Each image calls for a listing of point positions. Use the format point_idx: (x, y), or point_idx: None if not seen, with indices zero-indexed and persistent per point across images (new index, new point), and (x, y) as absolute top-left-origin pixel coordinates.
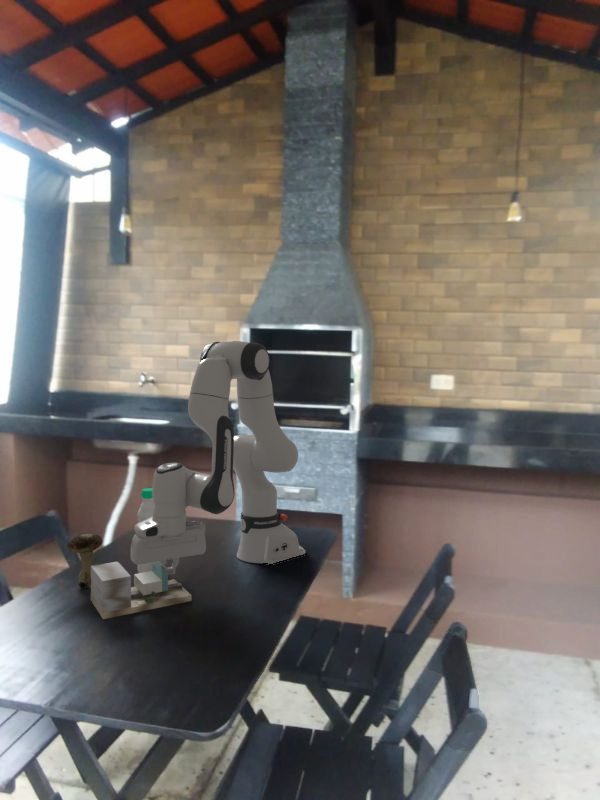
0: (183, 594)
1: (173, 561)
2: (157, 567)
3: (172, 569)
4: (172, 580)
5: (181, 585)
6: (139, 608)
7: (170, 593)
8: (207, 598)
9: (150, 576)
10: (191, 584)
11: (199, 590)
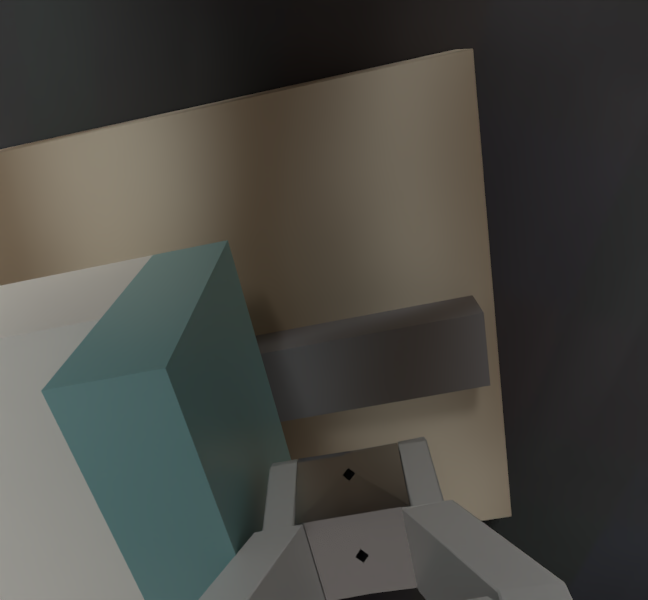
0: (450, 485)
1: (475, 581)
2: (157, 576)
3: (405, 580)
4: (438, 91)
5: (480, 383)
6: None
7: (342, 439)
8: (630, 470)
9: (87, 513)
10: (640, 115)
11: (645, 301)
